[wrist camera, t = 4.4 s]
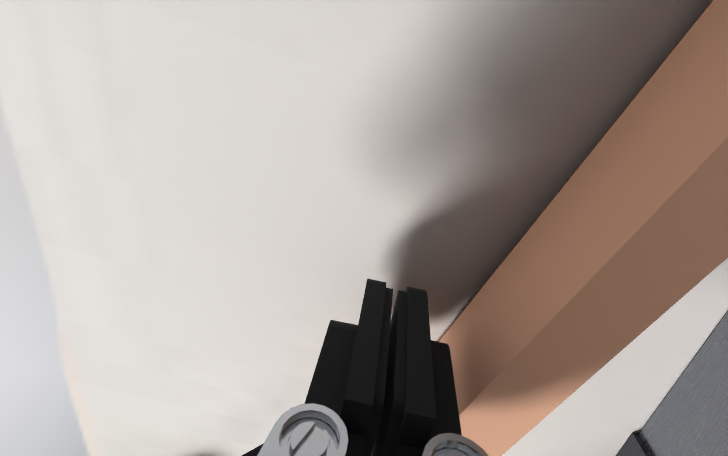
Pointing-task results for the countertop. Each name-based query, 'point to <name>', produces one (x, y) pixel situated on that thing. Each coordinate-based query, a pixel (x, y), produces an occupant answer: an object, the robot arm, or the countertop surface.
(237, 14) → the countertop surface
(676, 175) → the tong arm
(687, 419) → the base
